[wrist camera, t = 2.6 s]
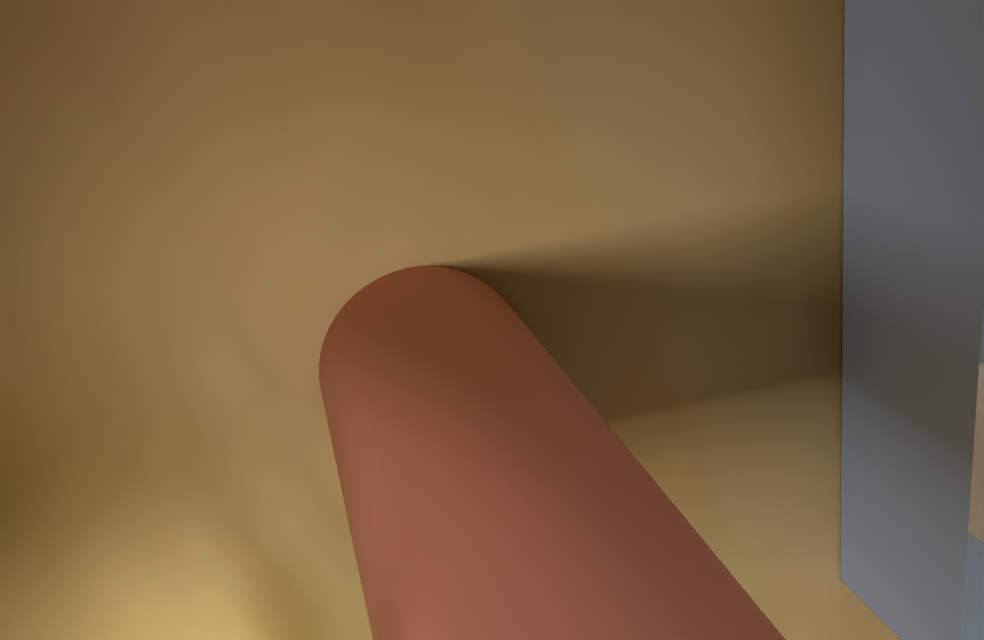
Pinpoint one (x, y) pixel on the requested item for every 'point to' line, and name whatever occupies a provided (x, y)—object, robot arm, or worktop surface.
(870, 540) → the socket slab
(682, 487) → the worktop surface
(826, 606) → the worktop surface
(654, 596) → the peg
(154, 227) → the worktop surface
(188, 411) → the worktop surface
